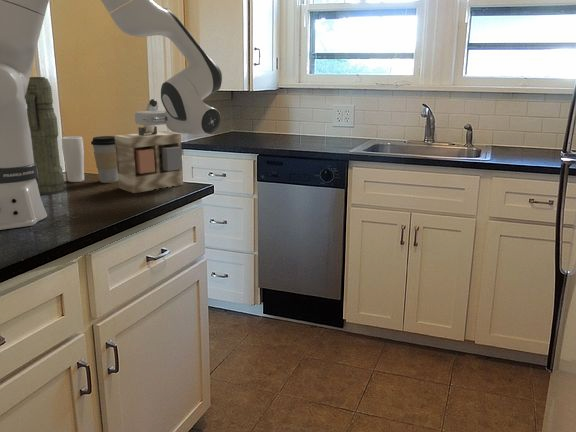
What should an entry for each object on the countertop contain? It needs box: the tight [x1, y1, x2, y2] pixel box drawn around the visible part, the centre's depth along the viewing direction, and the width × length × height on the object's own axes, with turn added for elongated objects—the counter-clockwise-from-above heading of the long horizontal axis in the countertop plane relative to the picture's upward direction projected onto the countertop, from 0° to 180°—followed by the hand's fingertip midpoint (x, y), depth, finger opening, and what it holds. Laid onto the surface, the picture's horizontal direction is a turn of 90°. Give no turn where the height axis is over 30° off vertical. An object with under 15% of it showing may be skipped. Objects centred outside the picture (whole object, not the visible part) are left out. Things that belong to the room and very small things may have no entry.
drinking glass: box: [61, 135, 85, 183], centre depth 192 cm, size 7×7×15 cm
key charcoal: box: [160, 146, 183, 171], centre depth 182 cm, size 5×7×7 cm
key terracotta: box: [134, 149, 155, 174], centre depth 178 cm, size 5×7×7 cm
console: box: [114, 125, 184, 194], centre depth 182 cm, size 18×10×19 cm, turn 133°
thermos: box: [25, 76, 65, 195], centre depth 174 cm, size 9×12×35 cm
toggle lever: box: [142, 98, 159, 134], centre depth 177 cm, size 3×2×12 cm
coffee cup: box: [90, 135, 118, 184], centre depth 192 cm, size 9×9×15 cm
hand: (155, 114), depth 175 cm, fingers closed
